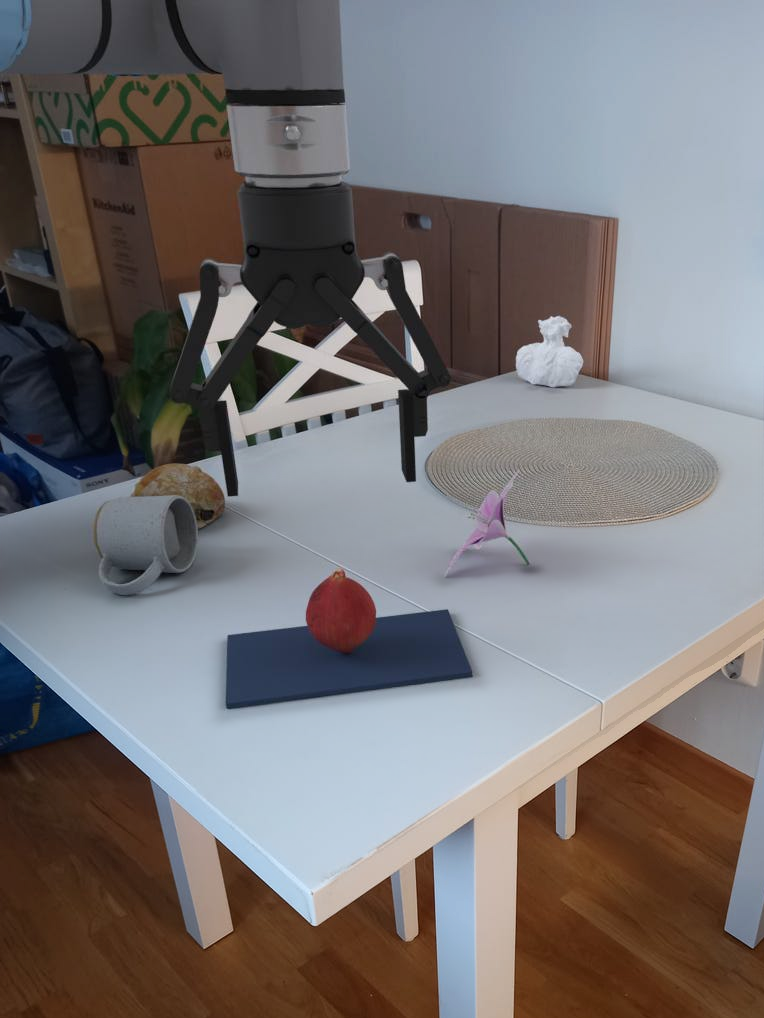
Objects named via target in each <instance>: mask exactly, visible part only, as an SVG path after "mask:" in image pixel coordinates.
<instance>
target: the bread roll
mask: <svg viewBox="0 0 764 1018" xmlns="http://www.w3.org/2000/svg"><path fill="white" fill-rule="evenodd" d="M134 484H135V485H134V490H133V493H131V494H130V496H129V497H147V496H168V495H179V496H182V497H184V498H185V499H186V500H187V501H188V502H189V503H190V505H191V507H192V509H193V511H194V514H195V517H196V522H197V529H198V530H201V529H202V528H203V527H205V526H207V525H209V524H211V523H213V521H214V522H215V520H216V519H218V518H220V517H222V515H223V514H224V512H225V508H226V500H225V499H226V498H225V494H224V492H223V489H222V488H221V486H220V485H219V483H218V482H217V481H216V480H215V478H214V477H212V476H211V475H209V474H208V473H206V472H204V471H202V468H200V467H199V466H197V465H189V464H186V463H177V462H176V463H174V462H173V463H166V464H162V465H159V466H157V467H155V468H153V469H152V470H150V471H148V472H147V473H145V474H144V475H143V476H142V477H141V478H140V480H139V481H137V482H136V483H134Z"/></svg>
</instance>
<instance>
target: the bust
mask: <svg viewBox="0 0 764 1018" xmlns="http://www.w3.org/2000/svg"><path fill="white" fill-rule="evenodd" d="M537 323H538V328H539V329H540V330H539V332H540V333H541V335H542V337H543V341H542V342H534V343H529V344H526V345H523V346H522V347H520V348H519V349H518V350H517V352H516V356H515V371H516V373H517V375H518V377H519V378H520V379H521V380H524V381H526V382H528V383H530V384H531V385H541V386H548V387H550V388H557V387H571V386H573V385H574V384H575V382H576V380H577V377H578V375H579V373H580V371H581V369H582V368H583V366H584V359H583V357H582V354H581V353H580V352H578V351H576V350H575V348H573V347H571V346H566V345H565V342H564V339H563V337H565V338H569V332H570V329H571V328H572V327H573V326H572V324H571V323H570V322H569V321H568V320H567V318H565V317H563V316H561V315H556V316H555V317H554V316H552V315H551V316H549V318H548V319H544V320H542V319H538V321H537Z"/></svg>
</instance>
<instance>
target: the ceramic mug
mask: <svg viewBox="0 0 764 1018" xmlns="http://www.w3.org/2000/svg"><path fill="white" fill-rule="evenodd" d="M92 525H93V526H92V537H93V538H92V539H93V543H94V546H95V550H96V552H97V554H98V556H99V557H100V558H101V560H100V563H99V566H98V576H99V578H100V581H101V583H102V584H103V585H104V586H105V588H106V589H107V590H108V591H109V592H111V593H113V594H115V595H118V596H133V595H136V594H138V593H141V592H144V591H145V590H148V588H149V587H150V586H152V585H153V584H154V583H155V582H156V580H157V579H158V578H159V577H160V575H161V574H162V573H167V574H168V573H169V574H181V573H184V572H186V571H188V570H189V568H191V566H192V565H193V563H194V560H195V559H196V556H197V551H198V545H199V529H197V522H196V517H195V514H194V511H193V509H192V507H191V505H190V503H189V502H188V501H187V500H186V499H185V498H184V497H182V496H179V495H168V496H147V497H130V496H123V497H117V498H113V499H109V500H107V501H105V502H104V503H102V504H101V506H100V507H99V509H98V510H97V512H96V514H95V517H94V520H93V524H92ZM112 567H114V568H117V569H122V570H129V571H131V570H132V571H144V572H143V573H142V574H141V575H140V576H139V577H137V578H136V579H133V580H132V581H129V582H127V583H121V584H120V583H116V582H114V581H110V579H109V576H110V571H111V570H112Z"/></svg>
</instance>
